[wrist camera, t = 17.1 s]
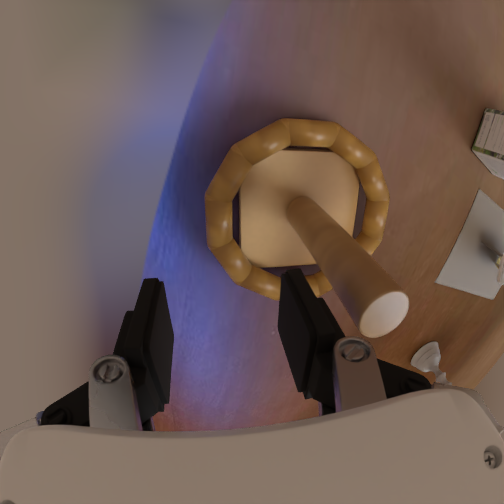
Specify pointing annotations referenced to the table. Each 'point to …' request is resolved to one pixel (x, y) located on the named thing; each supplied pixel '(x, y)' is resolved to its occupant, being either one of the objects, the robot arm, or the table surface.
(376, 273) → the post
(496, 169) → the syrup box
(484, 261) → the platform
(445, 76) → the table surface
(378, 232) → the ring
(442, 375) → the chalice
